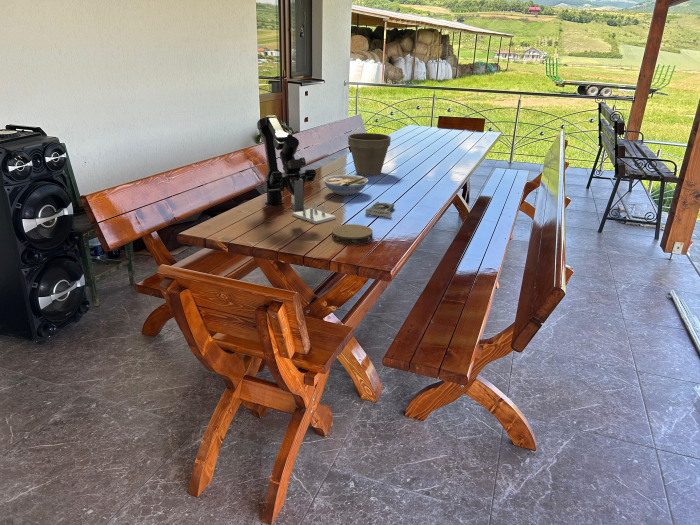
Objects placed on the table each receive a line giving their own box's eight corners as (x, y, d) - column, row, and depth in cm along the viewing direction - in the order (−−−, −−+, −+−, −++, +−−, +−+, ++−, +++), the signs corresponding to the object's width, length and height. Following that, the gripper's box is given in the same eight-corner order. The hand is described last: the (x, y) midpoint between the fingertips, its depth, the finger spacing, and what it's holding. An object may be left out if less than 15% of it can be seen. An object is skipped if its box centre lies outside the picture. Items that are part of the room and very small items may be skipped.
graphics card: (391, 212, 227) (364, 208, 230) (390, 220, 228) (364, 217, 232) (400, 203, 242) (375, 199, 245) (400, 210, 243) (375, 207, 246)
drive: (291, 208, 218) (290, 178, 213) (299, 207, 219) (299, 177, 214) (295, 212, 213) (294, 180, 209) (303, 211, 215) (303, 180, 210)
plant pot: (387, 178, 298) (388, 140, 290) (344, 176, 302) (344, 138, 293) (391, 169, 321) (392, 133, 313) (351, 167, 324) (351, 132, 316)
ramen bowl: (339, 186, 281) (339, 170, 278) (377, 191, 271) (377, 176, 267) (313, 196, 261) (312, 179, 258) (352, 202, 251) (352, 186, 248)
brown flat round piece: (359, 229, 215) (360, 222, 214) (380, 241, 202) (380, 233, 201) (325, 234, 208) (325, 227, 207) (343, 247, 195) (343, 239, 194)
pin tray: (292, 215, 230) (292, 204, 228) (311, 210, 238) (311, 199, 236) (316, 223, 220) (316, 212, 218) (335, 218, 227) (335, 207, 225)
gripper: (270, 152, 207) (279, 186, 202) (314, 149, 214) (324, 181, 209) (265, 167, 217) (274, 200, 212) (308, 164, 224) (317, 196, 219)
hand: (298, 194), depth 213 cm, fingers closed on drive, 4 cm apart
